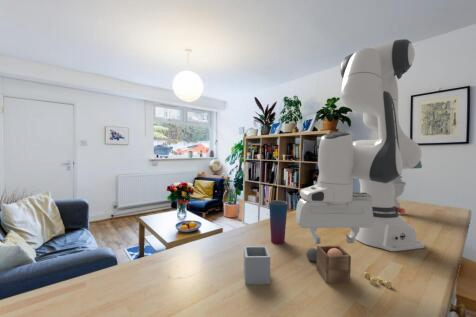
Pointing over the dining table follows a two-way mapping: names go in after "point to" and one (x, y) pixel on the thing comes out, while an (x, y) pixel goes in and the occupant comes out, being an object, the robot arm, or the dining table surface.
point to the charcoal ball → (312, 254)
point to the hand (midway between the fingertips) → (333, 242)
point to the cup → (278, 221)
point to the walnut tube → (333, 265)
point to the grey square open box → (256, 265)
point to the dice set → (373, 280)
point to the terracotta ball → (334, 252)
